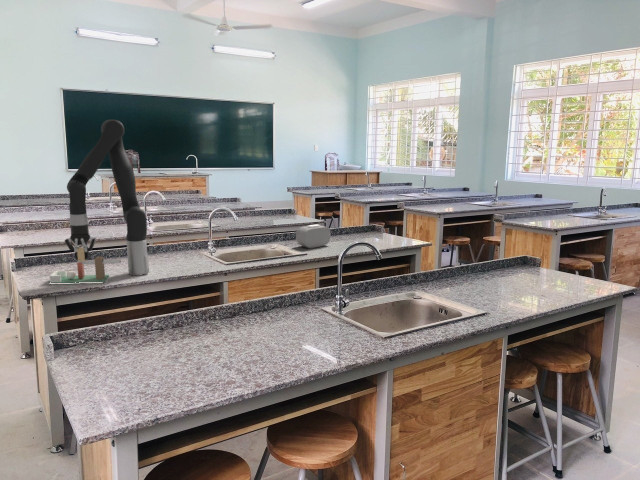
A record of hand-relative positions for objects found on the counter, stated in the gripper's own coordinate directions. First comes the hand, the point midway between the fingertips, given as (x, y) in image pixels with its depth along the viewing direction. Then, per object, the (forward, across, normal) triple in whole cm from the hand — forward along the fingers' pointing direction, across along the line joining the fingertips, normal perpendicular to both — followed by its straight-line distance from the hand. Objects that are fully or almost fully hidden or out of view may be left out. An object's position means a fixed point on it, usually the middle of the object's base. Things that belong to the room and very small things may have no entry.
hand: (82, 259), depth 241 cm
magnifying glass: (+11, +7, -22) cm, 25 cm away
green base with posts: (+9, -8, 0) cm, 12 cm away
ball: (+7, +6, 0) cm, 9 cm away
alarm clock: (+11, -119, -61) cm, 134 cm away
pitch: (+10, +2, 0) cm, 11 cm away
